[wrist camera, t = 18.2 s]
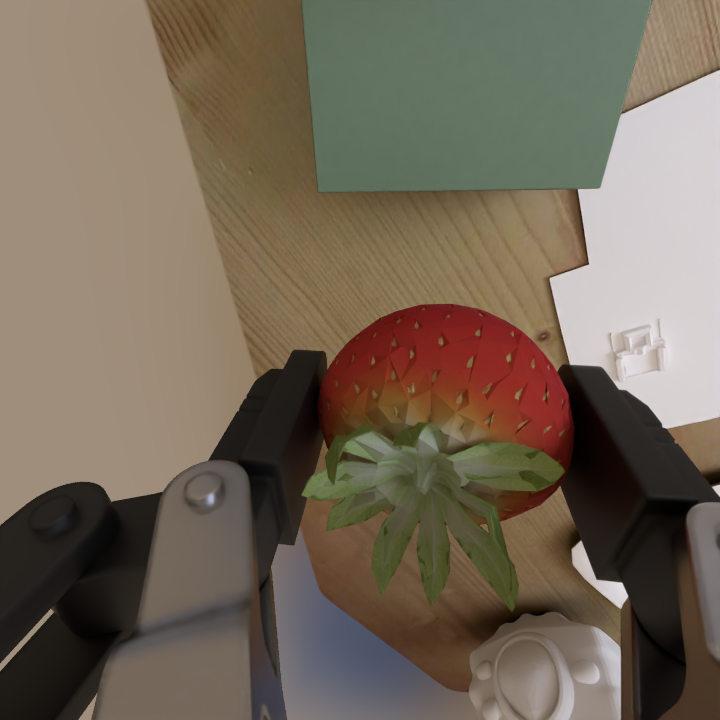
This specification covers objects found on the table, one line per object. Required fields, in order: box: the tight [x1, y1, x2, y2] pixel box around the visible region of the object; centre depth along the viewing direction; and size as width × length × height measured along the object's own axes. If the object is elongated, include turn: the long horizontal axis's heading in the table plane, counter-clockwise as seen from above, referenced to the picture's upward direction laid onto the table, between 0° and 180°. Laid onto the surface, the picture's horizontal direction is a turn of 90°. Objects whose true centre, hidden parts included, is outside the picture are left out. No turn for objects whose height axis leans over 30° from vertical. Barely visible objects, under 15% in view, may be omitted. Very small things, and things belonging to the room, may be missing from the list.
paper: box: [549, 70, 720, 428], centre depth 25 cm, size 25×17×1 cm
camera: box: [469, 612, 621, 720], centre depth 44 cm, size 11×18×16 cm, turn 134°
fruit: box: [302, 304, 575, 611], centre depth 9 cm, size 5×5×8 cm
